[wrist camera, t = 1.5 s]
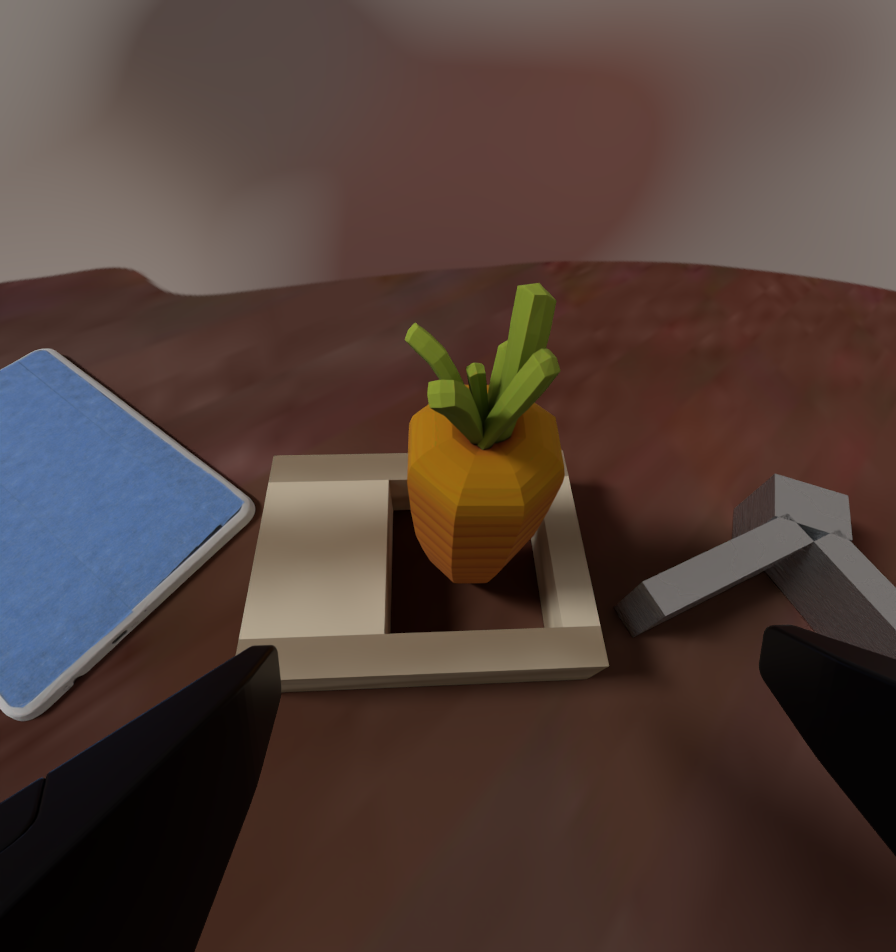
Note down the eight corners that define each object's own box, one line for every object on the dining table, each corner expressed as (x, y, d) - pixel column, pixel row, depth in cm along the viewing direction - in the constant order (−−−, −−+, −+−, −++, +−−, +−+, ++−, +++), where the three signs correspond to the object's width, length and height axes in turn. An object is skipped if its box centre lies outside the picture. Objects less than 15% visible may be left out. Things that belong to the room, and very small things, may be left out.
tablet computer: (266, 513, 24) (258, 501, 23) (32, 734, 19) (6, 732, 18) (59, 356, 30) (45, 340, 29) (-170, 489, 24) (-198, 476, 23)
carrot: (436, 642, 21) (444, 441, 8) (398, 546, 23) (357, 276, 10) (533, 599, 22) (675, 365, 9) (487, 512, 24) (549, 232, 12)
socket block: (586, 679, 20) (609, 666, 18) (257, 693, 19) (230, 681, 17) (549, 482, 25) (562, 450, 23) (290, 487, 25) (273, 455, 22)
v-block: (935, 751, 19) (1028, 748, 16) (609, 628, 21) (638, 606, 18) (904, 563, 23) (973, 533, 20) (638, 478, 26) (665, 440, 23)
